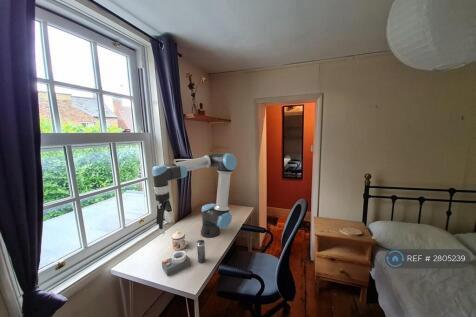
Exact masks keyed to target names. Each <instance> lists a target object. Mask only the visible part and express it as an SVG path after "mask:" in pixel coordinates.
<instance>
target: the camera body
mask: <svg viewBox="0 0 476 317" xmlns="http://www.w3.org/2000/svg"><path fill="white" fill-rule="evenodd" d="M161 266H162V268H161V269H162V270H163V272H164V274H165V275H166V277H169V276H171V275H173V274H175V273H177V272H179V271H181V270H184V269H185V268H187V267H189V266H191V258H190V257H189V256H188V255H187V253H186V251H184V250H176V251H175V252H173V253H172V254H171V257H169V258H167V259H164V260H162V261H161Z"/></svg>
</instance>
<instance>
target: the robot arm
mask: <svg viewBox="0 0 476 317" xmlns="http://www.w3.org/2000/svg"><path fill="white" fill-rule="evenodd" d="M237 165H238V161H237V158H236V156H235V155H234V154H232V153H230V152H229V153H228V152H226V153H225V152H214V153H211V154H205V155H204V156H201V157H198V158H192V159H186V160H183V161H182V160H181V161H177V162H171V163H162V164H159V165H155V166H153V167H152V179H153V189H154V193H155V195H154V197H155V201H156V202H158V204H157V205H156V221H155V224H156V225H158V231H159V232H158V233H159V235H165V234H166V232H165V231H166V230H165V222H164V218H166V223H172V221H173V219H172V212H173V209H172V205H171V201H170V197H171V196H170V188H169V187H170V186H169V182H171V181H176V180H178V179H179V180H180V179H183V178H186V177H187V176H188V172H190V171H194V170H199V169H202V168H216V172H217V173H218V180H217V190H216V191H217V192H216V203H207V204H204V205H202V207H201V222H202V224H201V225H202V226H201V229H200V235H201V237H204V238H209V239H210V238H214V237H217V236H219V234H220V232H221V229H224V228H227V227H228V226H229V225H230V224H231V222H232V220H233V217H232V213H230V207H229V196H230V194H229V193H230V184H231V174H232V173H234V170H235V169H236V167H237ZM165 215H166V216H165ZM220 228H221V229H220Z"/></svg>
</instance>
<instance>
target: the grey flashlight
mask: <svg viewBox="0 0 476 317" xmlns="http://www.w3.org/2000/svg"><path fill="white" fill-rule="evenodd" d="M205 245H206V243H205V240H204V239H198V240H197V241H196V249H197V250H196V251H197V262H198V264H200V265H201V264H204V263H206V261H207V260H206V246H205Z"/></svg>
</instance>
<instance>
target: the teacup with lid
mask: <svg viewBox="0 0 476 317" xmlns="http://www.w3.org/2000/svg"><path fill="white" fill-rule="evenodd" d="M185 236H186V234H185V232H183V231H180V230H177V231H176V232H174V233H173V234H172V235H171V242H172V249H173V250H174V251H183V249H185V247H186V246H187V245H188V244H189V243H188V242H189V241H188V239H186V237H185Z"/></svg>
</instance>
